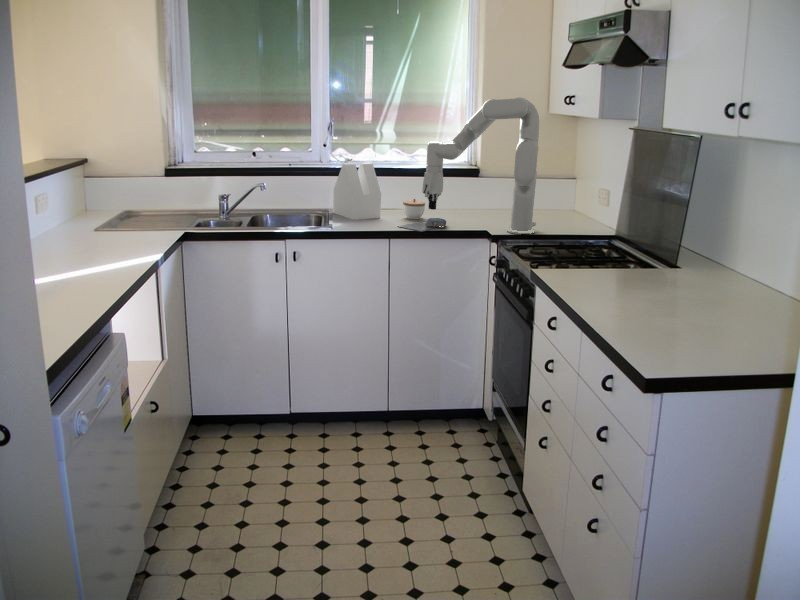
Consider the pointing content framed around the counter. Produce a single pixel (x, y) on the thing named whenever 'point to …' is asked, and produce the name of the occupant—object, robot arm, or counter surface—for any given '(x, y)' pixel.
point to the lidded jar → (413, 209)
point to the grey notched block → (357, 192)
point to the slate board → (418, 227)
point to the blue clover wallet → (435, 222)
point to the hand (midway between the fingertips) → (432, 208)
